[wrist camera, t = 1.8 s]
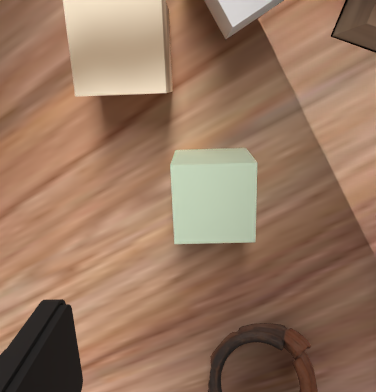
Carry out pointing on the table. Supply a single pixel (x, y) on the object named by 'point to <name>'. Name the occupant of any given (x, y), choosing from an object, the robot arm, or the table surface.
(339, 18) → the walnut cube
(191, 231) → the sage cube
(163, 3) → the maple cube
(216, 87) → the table surface
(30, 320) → the robot arm
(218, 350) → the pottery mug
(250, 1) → the grey cube
